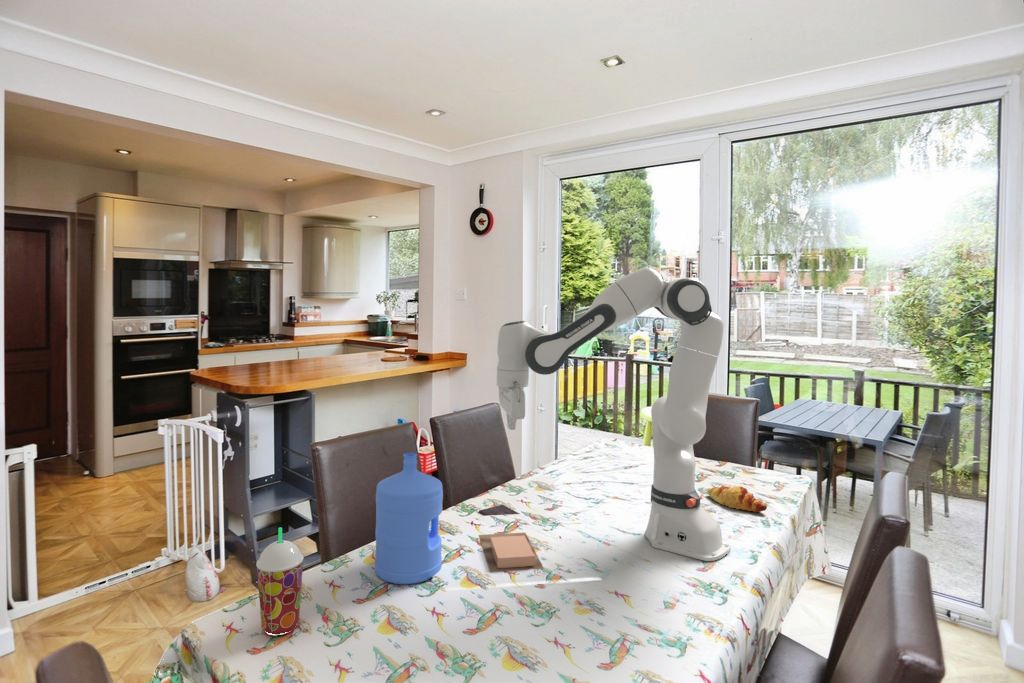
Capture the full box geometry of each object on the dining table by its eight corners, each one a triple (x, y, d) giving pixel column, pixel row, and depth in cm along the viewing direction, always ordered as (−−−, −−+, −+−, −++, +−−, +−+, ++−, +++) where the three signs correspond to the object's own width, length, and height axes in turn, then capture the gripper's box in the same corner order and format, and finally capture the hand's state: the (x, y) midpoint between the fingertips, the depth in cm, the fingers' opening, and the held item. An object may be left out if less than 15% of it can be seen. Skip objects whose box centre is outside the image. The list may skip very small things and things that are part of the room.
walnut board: (478, 537, 152) (478, 534, 152) (525, 535, 154) (525, 532, 154) (490, 575, 131) (490, 571, 131) (543, 571, 133) (543, 568, 133)
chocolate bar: (502, 504, 176) (538, 523, 161) (502, 507, 176) (538, 526, 161) (478, 510, 170) (513, 530, 156) (478, 513, 170) (513, 534, 156)
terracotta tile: (490, 537, 144) (497, 558, 132) (524, 535, 146) (534, 556, 134) (490, 547, 144) (497, 569, 132) (524, 545, 146) (534, 566, 134)
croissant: (701, 507, 189) (695, 488, 187) (717, 488, 194) (711, 470, 192) (761, 526, 172) (755, 506, 170) (776, 506, 177) (771, 486, 175)
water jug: (384, 592, 122) (385, 467, 120) (368, 561, 136) (369, 449, 134) (451, 577, 129) (453, 459, 127) (429, 550, 143) (430, 443, 141)
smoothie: (266, 616, 112) (265, 519, 110) (308, 615, 112) (308, 519, 111) (249, 642, 103) (249, 537, 102) (296, 641, 104) (296, 536, 103)
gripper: (531, 385, 145) (530, 437, 145) (516, 374, 165) (515, 420, 166) (508, 385, 143) (506, 437, 144) (495, 374, 163) (494, 421, 164)
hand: (511, 428), depth 155 cm, fingers closed
